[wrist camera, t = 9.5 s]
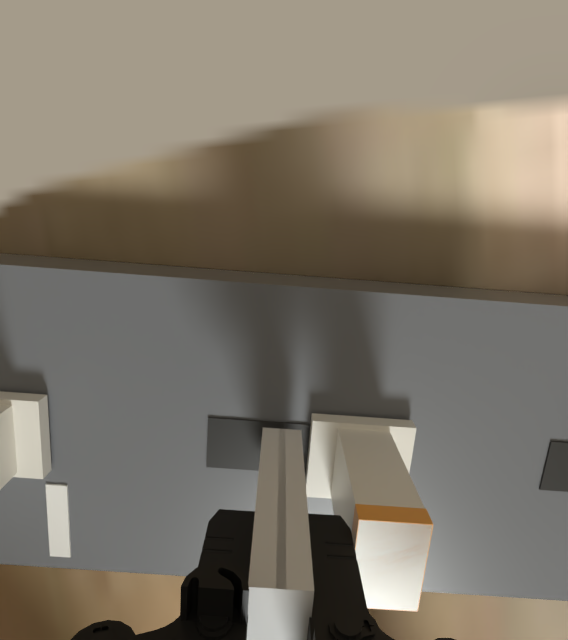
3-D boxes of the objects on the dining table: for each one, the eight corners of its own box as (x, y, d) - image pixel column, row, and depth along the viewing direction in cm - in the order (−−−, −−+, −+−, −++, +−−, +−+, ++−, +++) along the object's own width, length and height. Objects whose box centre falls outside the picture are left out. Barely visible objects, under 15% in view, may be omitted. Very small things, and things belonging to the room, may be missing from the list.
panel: (-78, 514, 20) (-129, 557, 18) (-116, 244, 18) (-183, 251, 15) (644, 561, 21) (692, 610, 18) (725, 307, 18) (796, 323, 15)
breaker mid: (304, 486, 17) (312, 610, 12) (311, 413, 16) (323, 510, 11) (400, 493, 17) (450, 619, 12) (411, 419, 16) (470, 520, 11)
